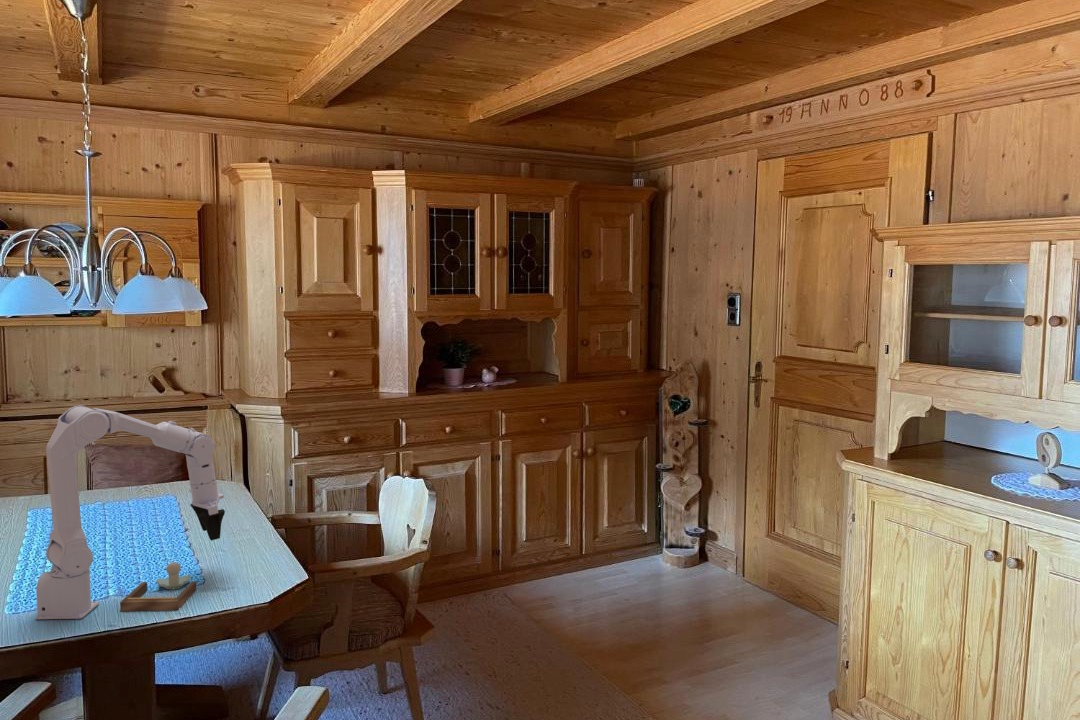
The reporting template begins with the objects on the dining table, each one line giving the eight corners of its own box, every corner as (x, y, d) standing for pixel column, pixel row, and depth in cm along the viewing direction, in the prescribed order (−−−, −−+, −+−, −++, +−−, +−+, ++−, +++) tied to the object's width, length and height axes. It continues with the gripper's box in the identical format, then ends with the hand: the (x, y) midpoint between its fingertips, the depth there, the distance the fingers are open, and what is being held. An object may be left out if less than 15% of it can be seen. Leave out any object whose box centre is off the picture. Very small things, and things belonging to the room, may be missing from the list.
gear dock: (120, 611, 169) (120, 600, 169) (142, 590, 181) (142, 580, 181) (178, 610, 170) (177, 599, 170) (196, 589, 182) (196, 580, 182)
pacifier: (156, 585, 185) (156, 593, 180) (155, 558, 185) (155, 566, 179) (190, 580, 188) (191, 588, 183) (189, 554, 188) (191, 562, 182)
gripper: (227, 484, 184) (236, 538, 187) (213, 470, 196) (221, 521, 199) (196, 492, 180) (204, 547, 183) (183, 476, 192) (191, 529, 195)
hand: (211, 534), depth 191 cm, fingers open, 7 cm apart
